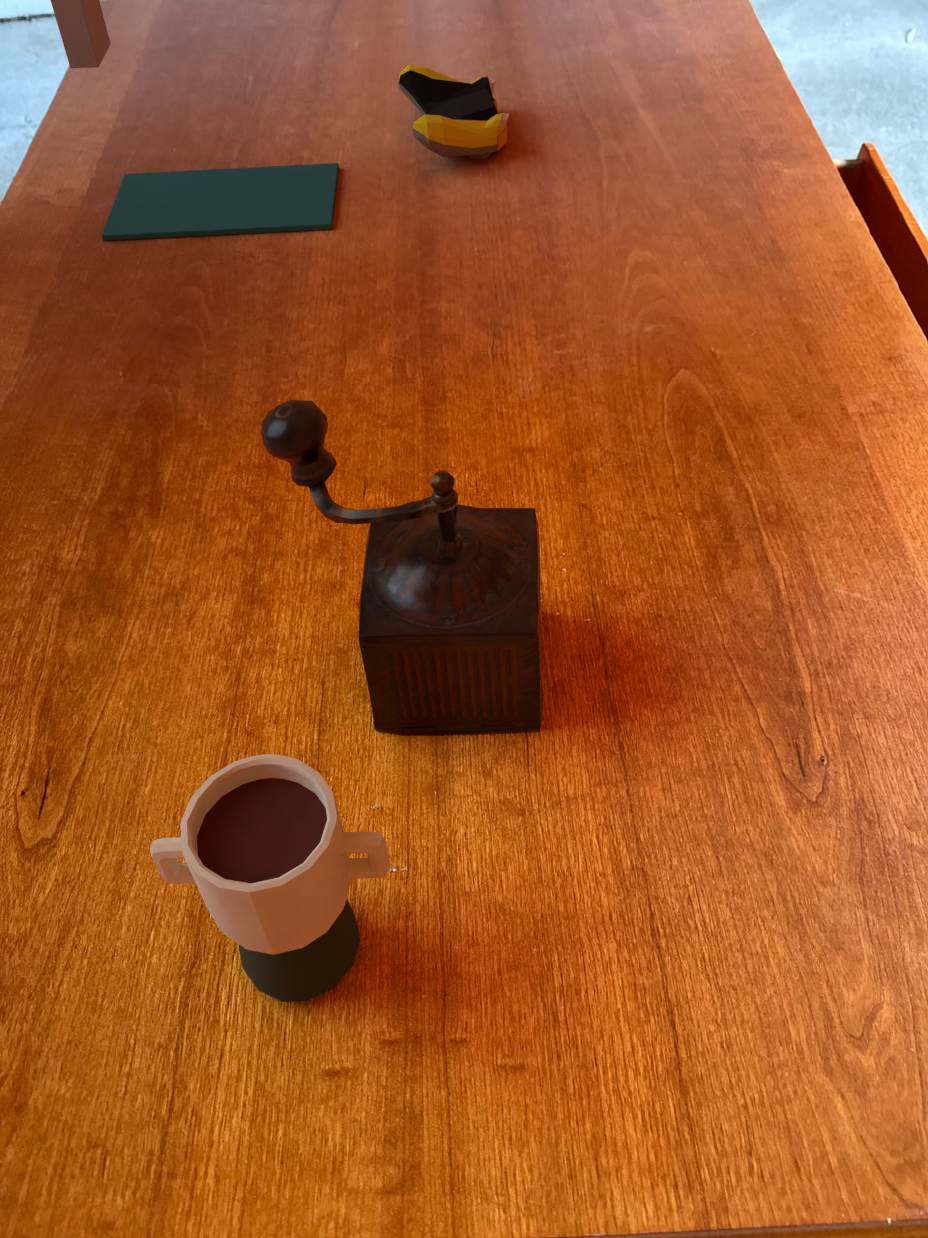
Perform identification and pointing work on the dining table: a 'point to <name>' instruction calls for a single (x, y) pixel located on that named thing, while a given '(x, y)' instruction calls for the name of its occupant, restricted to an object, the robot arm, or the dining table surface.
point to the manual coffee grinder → (434, 597)
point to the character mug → (275, 871)
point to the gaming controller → (454, 113)
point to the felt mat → (224, 202)
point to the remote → (82, 31)
